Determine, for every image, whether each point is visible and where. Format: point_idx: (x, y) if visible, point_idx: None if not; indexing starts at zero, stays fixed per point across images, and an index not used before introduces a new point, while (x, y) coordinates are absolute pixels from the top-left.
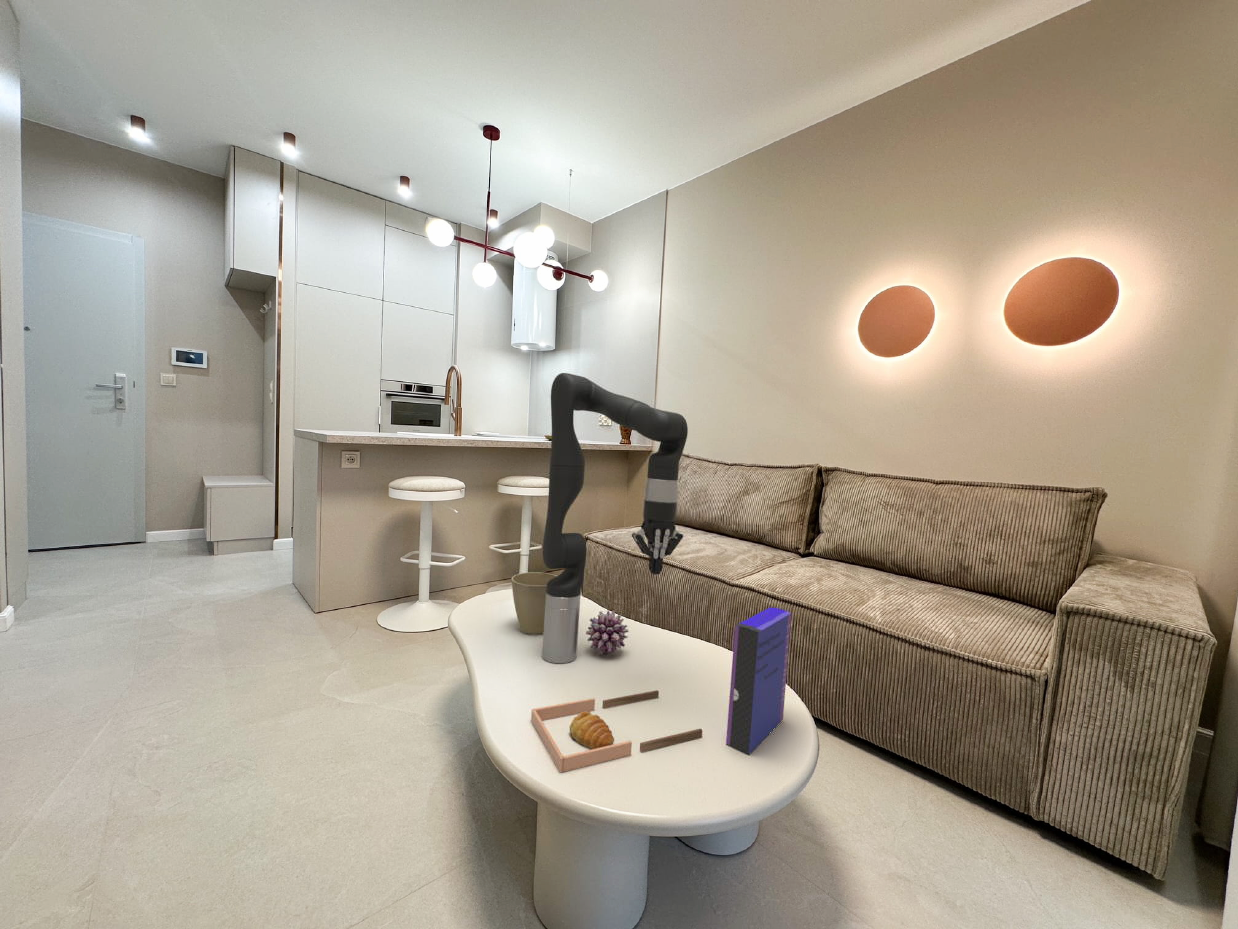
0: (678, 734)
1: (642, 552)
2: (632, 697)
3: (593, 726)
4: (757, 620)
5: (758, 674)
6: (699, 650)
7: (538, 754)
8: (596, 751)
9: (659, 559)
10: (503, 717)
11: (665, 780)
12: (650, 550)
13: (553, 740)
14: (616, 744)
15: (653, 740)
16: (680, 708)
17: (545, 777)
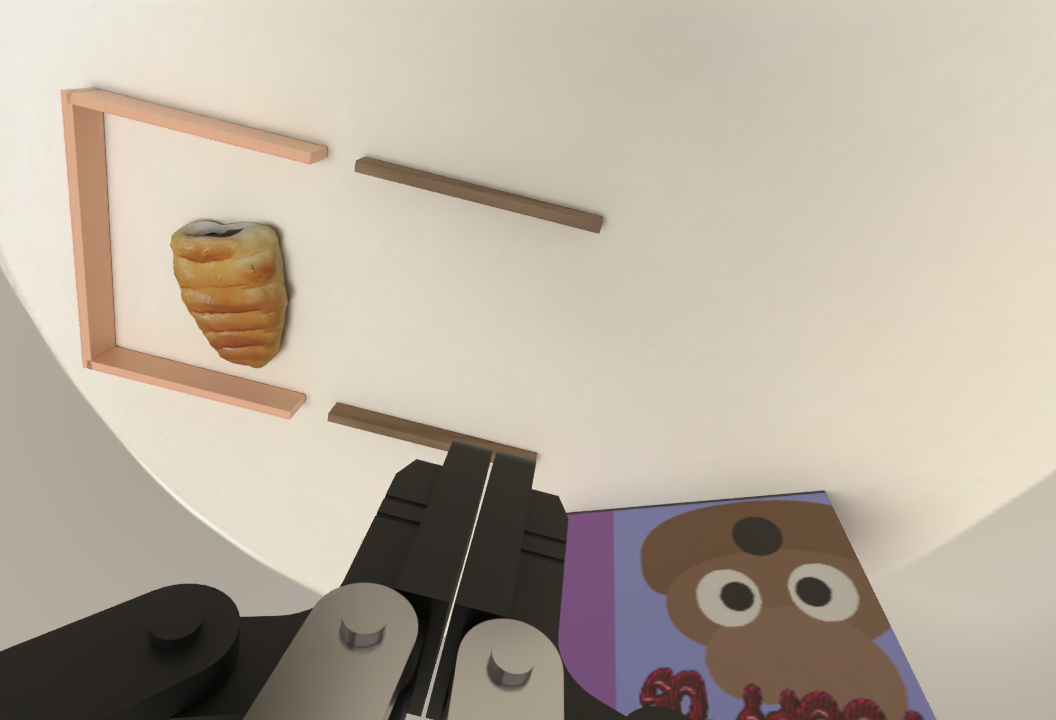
0: None
1: (130, 622)
2: (479, 202)
3: (209, 319)
4: None
5: None
6: None
7: None
8: (183, 391)
9: (437, 714)
10: (3, 4)
11: (326, 504)
12: (295, 711)
13: (84, 291)
14: (245, 402)
15: (368, 426)
16: (611, 324)
17: (70, 343)
